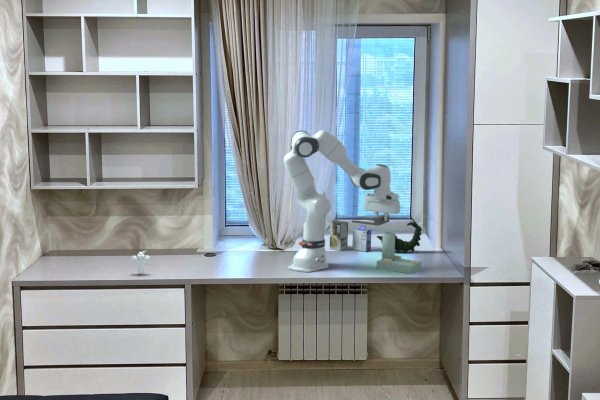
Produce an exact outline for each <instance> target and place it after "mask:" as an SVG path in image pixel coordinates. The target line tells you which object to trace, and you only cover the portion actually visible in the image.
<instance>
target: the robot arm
mask: <svg viewBox="0 0 600 400" xmlns="http://www.w3.org/2000/svg"><path fill="white" fill-rule="evenodd" d="M317 152H319V153H320V154H321V155H323V156H324V158H326V159H327V160H328V161H330V162H331V163H333V164H335V165H337V166H339V168H341V169H342V170H343V171H344V172H345V173H346V174H347V175H348V176H349V178H350V181H351V183H352V184H353V186H355V187H356V188H360V189H362V190H365V191H370V190H373V193H365V195H364V205H363V209H364V211H365V212H366V211H367V212H374V215H375V217H378V216H380V214H379V213H383V214H385V217H384V218H383V221H387V217H388V215H389V216H390V214H392V215H398V214H399V213H400V212H401V203H400V195H399V194H398V193H395V192H393V191H391V186H390V185H391V179H392V178H391V169H390V166H387V165H385V164H379V163H377V164H375V165H374V166H372V167H371V168H369V169H367V170H366V169H363V168H361V167H358V166H357V165H356V164H355V163H354V162H353V161H352V160H351V159H350V158H349V157H348V150H347V148H346V146H345V145H344V144H343V143H342V142H341V141H340V140H339V139H338V138H337V137H335V136H334V135H333V134H331V133H330V132H328V131H327V130H325V129H321V130H318V131H317V132H315V134H313V135H310V133H309V132H308V131H305V130H297V131H296V132H294V133H293V134H292V136H291V139H290V152H287V153H286V154H285V155H284V157H283V164H284V167H285V171H286V172H287V175H288V177H289V179H290V181H291V183H292V185H293V187H294V189H295V193H296V196H297V202H298V205H299V207H300V208H301V209H302V210H303V211H305V212H307V213H306V214H307V216H306V219H305V221H304V223H303V230H302V231H303V235H302V236H303V238H302V240H299V241H298V243H297V244H298V246H301V247H300V248H299V249H298V250H297V252H296V254H295V255H294V256H293V259H292V264H291V265H290V264H289V265H288V268H287V269H289V270H292V271H296V272H304V273H311V272H314V271H320V270H324V269H328V268H329V264H328V259H327V257H328V256H327V251H326V248H325V246H326V240H325V224H326V219H327V216H328V214H329V212H330V211H331V207H332V204H331V201H330V200H329V198H327V197H326V196H325V195H324V194H321V193H319V192H318V191H317V188H316V186H315V178H314V175H313V173H312V171H311V170H310V168H309V165H308V164H307V161H306V158H310V156H313V155H314V154H315V153H317Z"/></svg>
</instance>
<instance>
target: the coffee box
mask: <svg viewBox="0 0 600 400" xmlns="http://www.w3.org/2000/svg"><path fill="white" fill-rule="evenodd" d="M348 238H349V222H348V221H344V220H338V219H337V220H331V221H329V249H330V250H335V251H340V252H342V251H347V250H348V245H349V244H348V243H349V242H348Z"/></svg>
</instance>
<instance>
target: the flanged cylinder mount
mask: <svg viewBox="0 0 600 400" xmlns="http://www.w3.org/2000/svg"><path fill="white" fill-rule="evenodd" d="M395 235H396V233H395V232H391V231H390V232H388V231H387V232H383V233H382V235H381V236H382V242H381V259H379V260H376V269H380V270H385V271H392V272H394V273H395V272H397V273H401V274H408V275H412V274H415V273H417V272H419V271H421V270H422V267H423V266H422V263H423V262H422V261H418V260H417V261H416V260H414V259H412V260H411V259H405V258H402V255H398V254H397V255H396V254H395V252H396V250H395ZM414 272H415V273H414Z"/></svg>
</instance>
